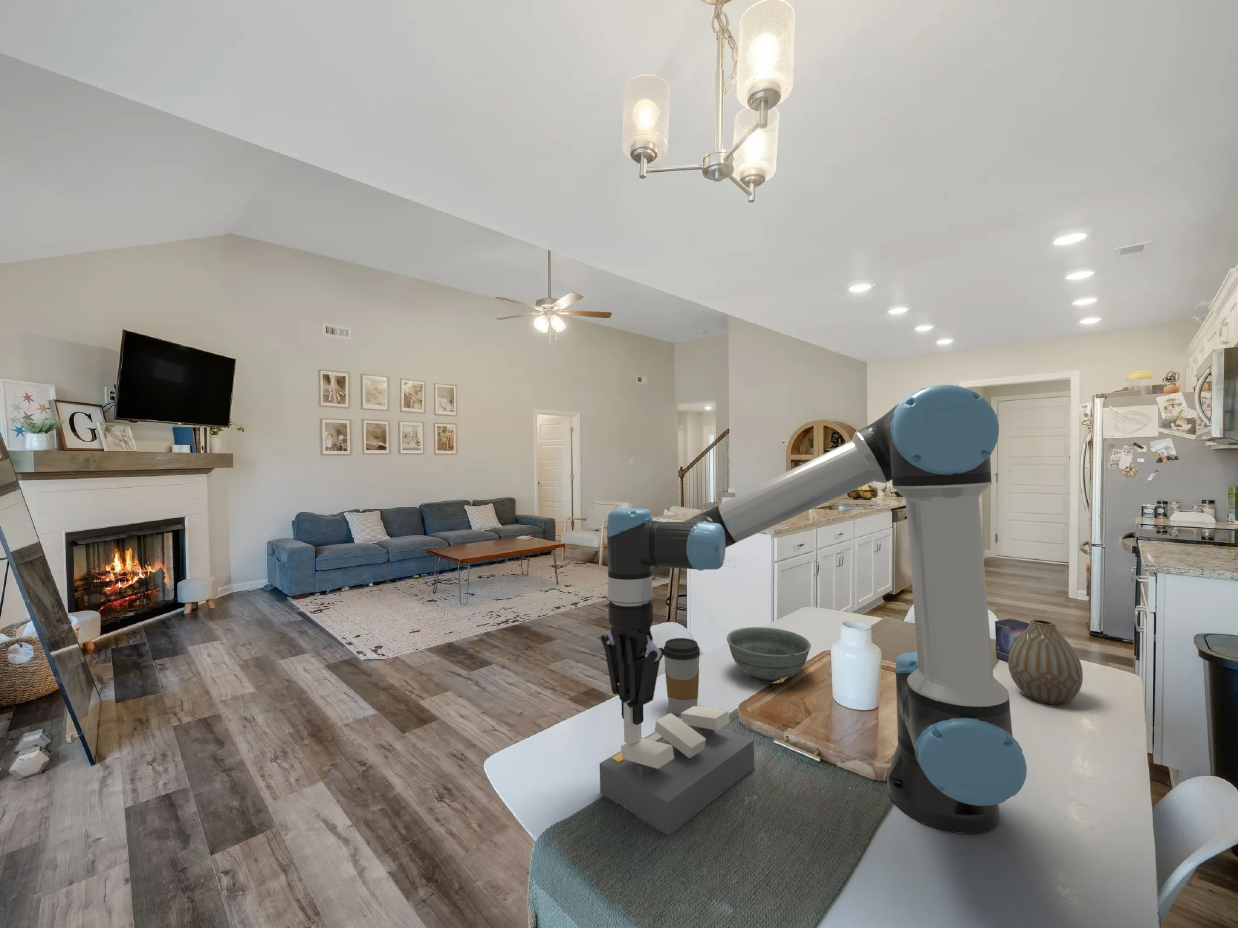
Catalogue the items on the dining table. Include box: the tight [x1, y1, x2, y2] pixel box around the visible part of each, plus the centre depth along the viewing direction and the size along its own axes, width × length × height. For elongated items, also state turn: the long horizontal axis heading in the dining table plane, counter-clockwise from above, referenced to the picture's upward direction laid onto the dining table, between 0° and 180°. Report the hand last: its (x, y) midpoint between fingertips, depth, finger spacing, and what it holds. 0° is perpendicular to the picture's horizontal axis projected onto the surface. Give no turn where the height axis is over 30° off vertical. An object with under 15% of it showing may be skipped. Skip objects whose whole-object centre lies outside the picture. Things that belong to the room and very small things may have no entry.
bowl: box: [726, 626, 812, 685], centre depth 133 cm, size 21×21×10 cm
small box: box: [994, 618, 1030, 663], centre depth 138 cm, size 11×6×10 cm, turn 17°
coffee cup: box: [663, 637, 701, 717], centre depth 117 cm, size 8×8×15 cm
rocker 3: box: [680, 705, 731, 730], centre depth 96 cm, size 8×4×2 cm, turn 45°
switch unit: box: [599, 716, 755, 837], centre depth 90 cm, size 15×24×6 cm, turn 134°
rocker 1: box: [620, 737, 674, 769], centre depth 85 cm, size 8×4×2 cm, turn 45°
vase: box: [1007, 618, 1084, 706], centre depth 118 cm, size 13×13×18 cm
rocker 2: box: [654, 712, 706, 758], centre depth 90 cm, size 8×4×2 cm, turn 44°
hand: (632, 740), depth 87 cm, fingers closed
